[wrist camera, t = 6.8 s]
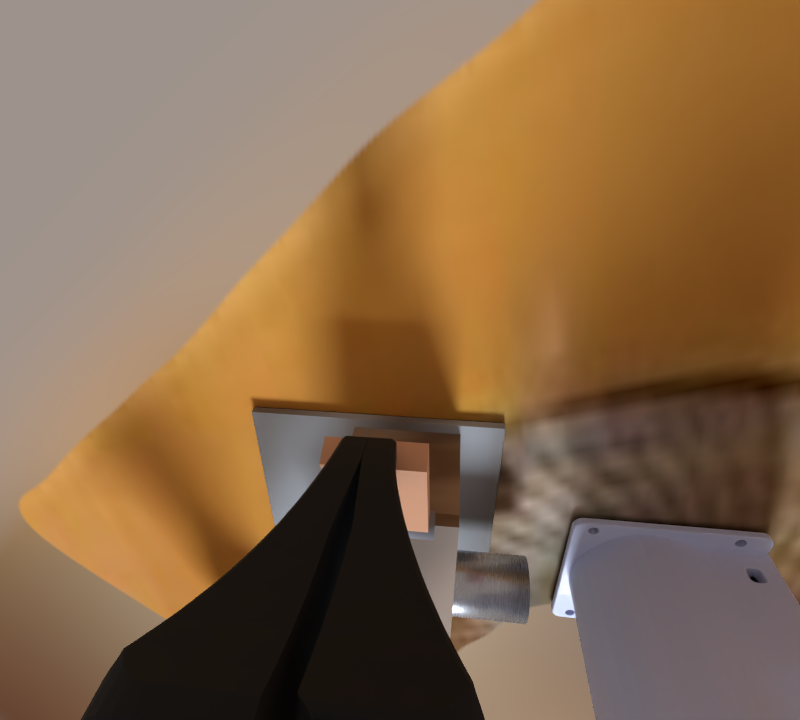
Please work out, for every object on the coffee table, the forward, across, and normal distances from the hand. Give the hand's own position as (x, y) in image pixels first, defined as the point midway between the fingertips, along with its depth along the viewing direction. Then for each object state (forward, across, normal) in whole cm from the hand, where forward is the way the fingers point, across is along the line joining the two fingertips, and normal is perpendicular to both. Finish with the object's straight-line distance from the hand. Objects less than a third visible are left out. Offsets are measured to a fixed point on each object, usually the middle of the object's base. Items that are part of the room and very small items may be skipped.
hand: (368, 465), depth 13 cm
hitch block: (+9, +1, +12) cm, 15 cm away
